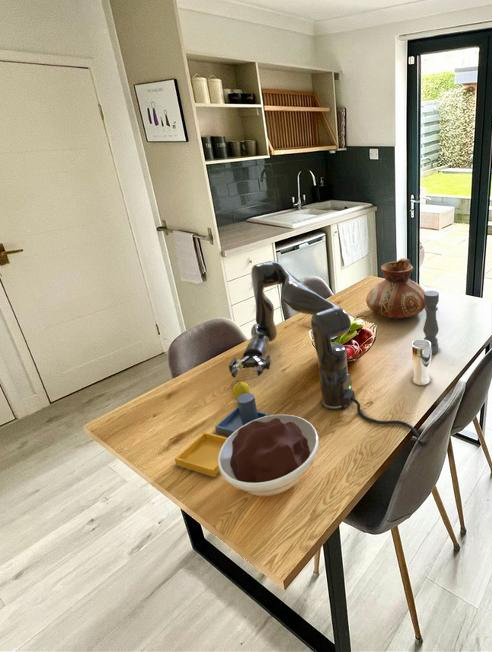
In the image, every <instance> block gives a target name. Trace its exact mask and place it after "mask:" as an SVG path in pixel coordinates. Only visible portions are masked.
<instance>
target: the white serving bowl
mask: <svg viewBox="0 0 492 652" xmlns="http://www.w3.org/2000/svg"><path fill="white" fill-rule="evenodd" d="M227 438H228V439H227V440H226V441H225V442H224V444H223V446H222V447H221V450H220V452H219V456H218V468H219V473H220V476H221V477H222V478H223V479H224V481H226V482H227V484H229V485H230V486H232V487H234V488H235V489H239V490H241V491H244V492H246V493H248V494H250V495H253V496H257V497H271V496H276V495H279V494H281V493H283V492H286V491H288V490H289V489H291V488H293V487H294V486H295V485H296V484H298V482H300V480H301V479H302V478H303V477H304V475H305V474H306V472H307V470H308V469H309V468H310V467H311V465H312V464H313V462H314V460H315V459H316V456H317V454H318V451H319V446H320V440H319V439H320V438H319V434H318V431H317V430H316V428H315V426H313V424H312V423H311V422H310V421H308V420H307V419H305V418H303V417H301V416H297V415H293V414H279V413H278V414H271V415H270V414H269V416H265V417H262V418H259V419H256V420H253V421H251V422H249V423H247V424H245V425H243V426H242V427H240V428H239V429H237V430H236V431H235V432H234V433H232V434H231V435H228V437H227Z"/></svg>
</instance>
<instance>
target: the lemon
mask: <svg viewBox="0 0 492 652" xmlns="http://www.w3.org/2000/svg"><path fill="white" fill-rule="evenodd" d="M245 393H251V389H250V386H249V385H248V384H247V383H246V382H245V381H238V382H237V383H235V384H234V385H233V387H232V397H233V399H234V400H235V401H236V402H237V398H238V397H239V396H240V395H242V394H245Z"/></svg>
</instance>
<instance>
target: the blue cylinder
mask: <svg viewBox="0 0 492 652" xmlns="http://www.w3.org/2000/svg"><path fill="white" fill-rule="evenodd" d="M236 402H237V406H238V407H239V412H240V416H241V421H242V425H245V424H247V423H249V422H251V421H253V420H256V419H259V418H258V413H257V411H258V409H257V403H256V398H255V395H254V393H251V392H250V393H245V394H242V395H240V396H239V397H238V398H237V401H236Z"/></svg>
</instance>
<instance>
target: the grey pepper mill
mask: <svg viewBox="0 0 492 652" xmlns="http://www.w3.org/2000/svg"><path fill="white" fill-rule="evenodd" d="M439 300H440V293H439V292H438V291H436V290H426V291H425V292H424V302H425V304H426V306H425V308H424V311H425V314H426V315H425V321H424V325H423V329H422V331H423V333H424V338H423V339H424V340H428V341H429V342H430V343H431V355H435V354H437V353H438V352H439V339H438V337H437V335H438V333H439V331H440V329H439V324H438V320H437V311H438V310H439V307H438V304H439Z"/></svg>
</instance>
